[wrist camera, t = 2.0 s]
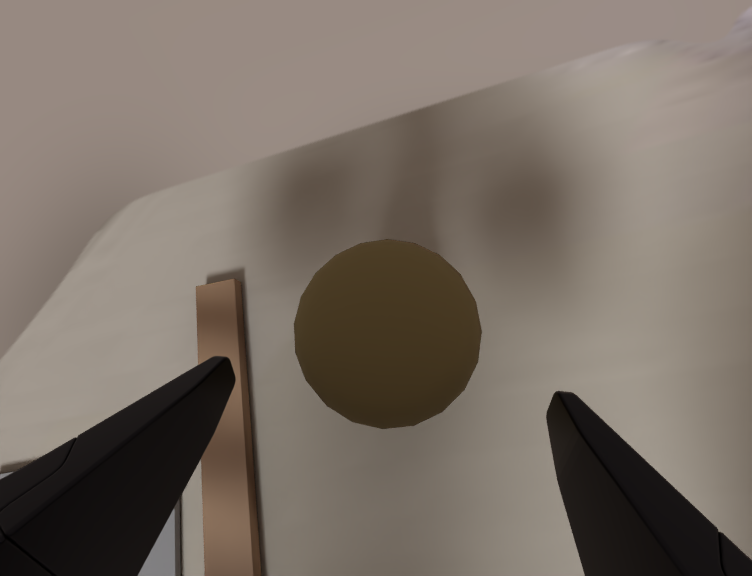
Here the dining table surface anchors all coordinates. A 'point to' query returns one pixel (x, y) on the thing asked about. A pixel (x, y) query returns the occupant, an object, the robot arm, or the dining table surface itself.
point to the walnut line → (228, 441)
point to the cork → (387, 334)
